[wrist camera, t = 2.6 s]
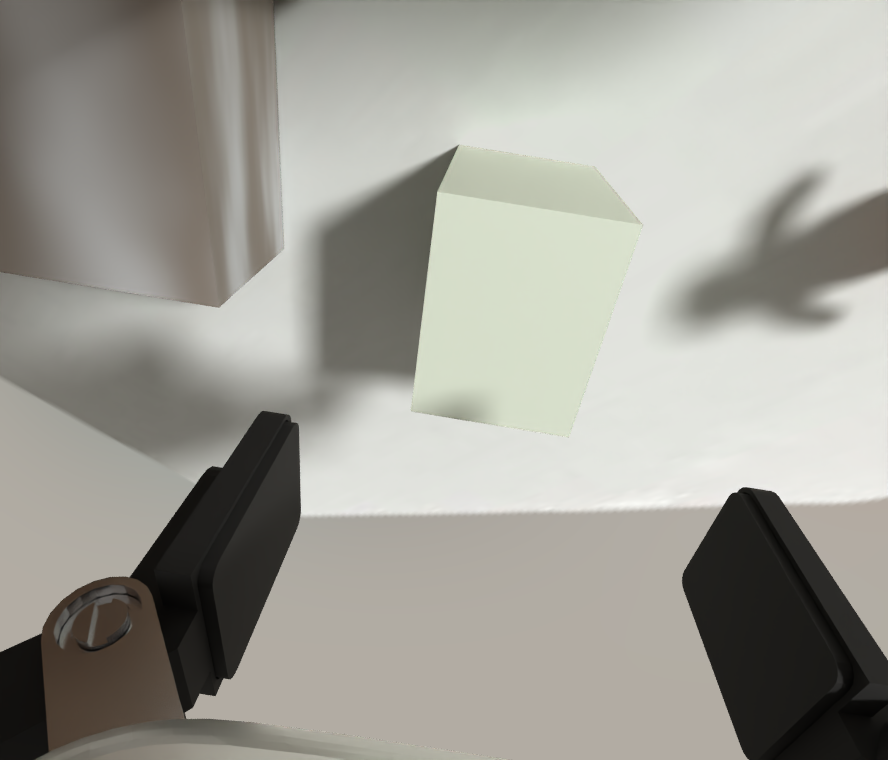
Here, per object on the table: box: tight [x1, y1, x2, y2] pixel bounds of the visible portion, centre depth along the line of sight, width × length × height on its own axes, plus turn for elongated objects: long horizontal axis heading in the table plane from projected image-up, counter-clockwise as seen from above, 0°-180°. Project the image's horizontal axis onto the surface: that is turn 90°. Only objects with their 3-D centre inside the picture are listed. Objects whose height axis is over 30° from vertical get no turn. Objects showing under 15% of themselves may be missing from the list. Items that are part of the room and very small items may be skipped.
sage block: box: [411, 145, 643, 437], centre depth 21 cm, size 6×9×9 cm, turn 172°
